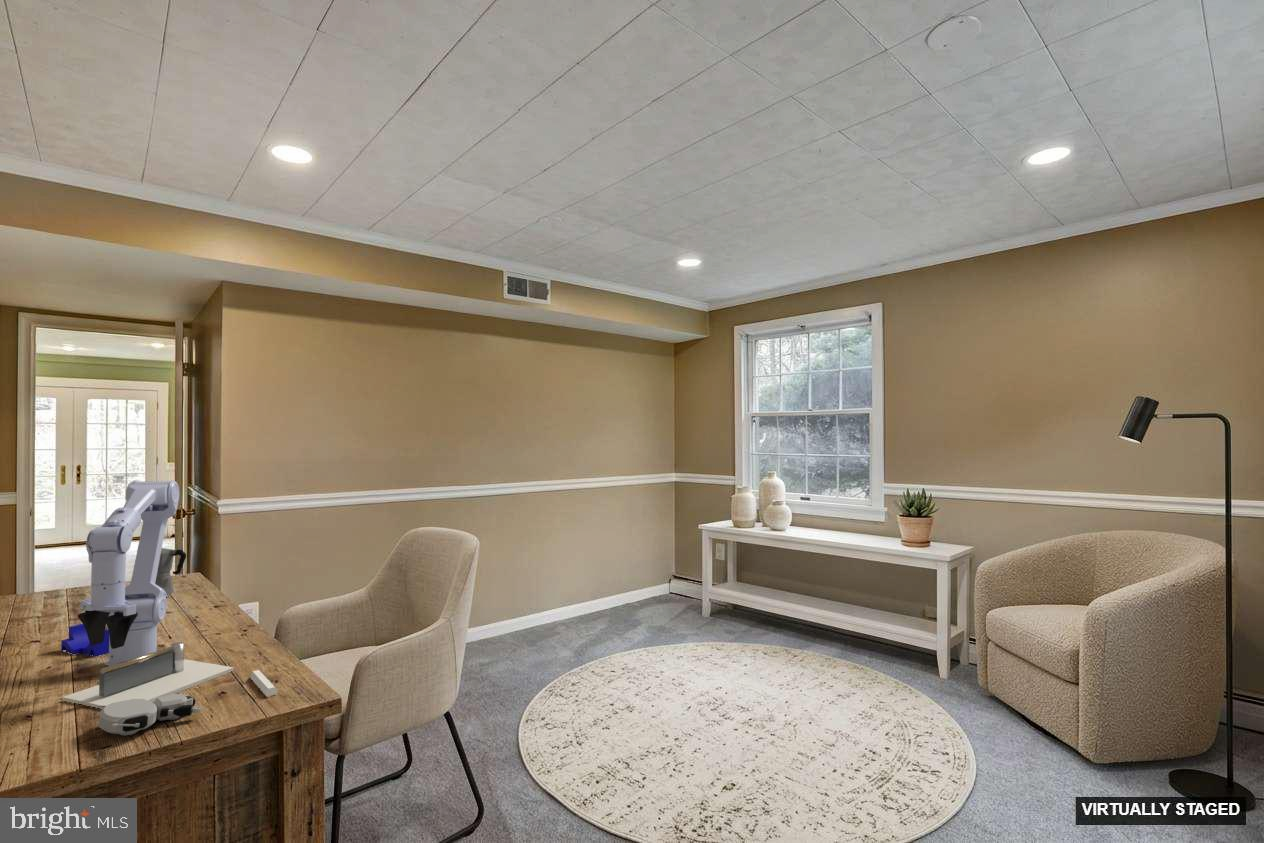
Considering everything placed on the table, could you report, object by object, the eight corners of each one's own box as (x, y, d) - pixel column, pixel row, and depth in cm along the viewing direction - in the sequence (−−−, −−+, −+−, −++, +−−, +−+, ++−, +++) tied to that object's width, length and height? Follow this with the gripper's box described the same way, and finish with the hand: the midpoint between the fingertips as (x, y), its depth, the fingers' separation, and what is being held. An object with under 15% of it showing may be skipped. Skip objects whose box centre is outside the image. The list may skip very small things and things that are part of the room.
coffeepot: (126, 600, 208) (127, 545, 208) (146, 593, 217) (147, 540, 217) (176, 599, 209) (177, 545, 209) (193, 592, 218) (194, 540, 219)
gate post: (168, 675, 144) (168, 644, 145) (178, 672, 147) (179, 641, 147) (175, 677, 144) (176, 646, 144) (186, 673, 146) (186, 642, 146)
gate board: (62, 701, 131) (62, 697, 131) (178, 661, 153) (178, 658, 153) (122, 714, 125) (122, 709, 125) (233, 670, 148) (233, 667, 148)
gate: (99, 695, 131) (99, 668, 131) (167, 671, 144) (168, 646, 144) (104, 696, 130) (104, 669, 130) (172, 672, 143) (173, 647, 144)
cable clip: (60, 652, 160) (61, 628, 160) (82, 646, 164) (83, 623, 164) (87, 659, 155) (88, 634, 155) (108, 653, 159) (109, 629, 159)
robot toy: (184, 707, 131) (90, 727, 119) (186, 684, 131) (93, 702, 119) (204, 725, 123) (105, 748, 111) (206, 700, 123) (108, 721, 112)
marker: (253, 679, 145) (273, 700, 134) (244, 676, 144) (263, 697, 133) (259, 667, 146) (280, 687, 135) (250, 665, 145) (270, 684, 134)
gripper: (64, 583, 136) (63, 647, 135) (111, 589, 131) (109, 655, 131) (101, 576, 142) (100, 637, 142) (146, 581, 138) (145, 644, 137)
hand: (107, 645), depth 137 cm, fingers open, 6 cm apart
